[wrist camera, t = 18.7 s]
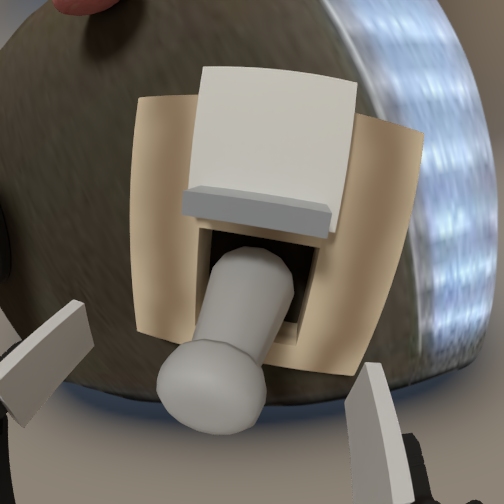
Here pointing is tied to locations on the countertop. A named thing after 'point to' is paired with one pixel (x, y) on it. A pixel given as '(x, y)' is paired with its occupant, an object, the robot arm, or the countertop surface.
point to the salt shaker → (229, 344)
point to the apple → (82, 6)
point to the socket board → (325, 252)
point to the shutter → (270, 149)
